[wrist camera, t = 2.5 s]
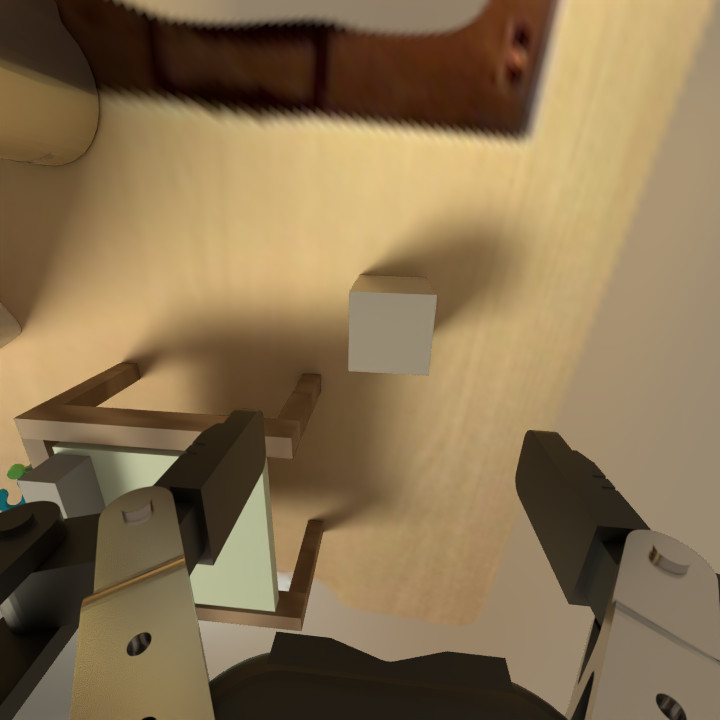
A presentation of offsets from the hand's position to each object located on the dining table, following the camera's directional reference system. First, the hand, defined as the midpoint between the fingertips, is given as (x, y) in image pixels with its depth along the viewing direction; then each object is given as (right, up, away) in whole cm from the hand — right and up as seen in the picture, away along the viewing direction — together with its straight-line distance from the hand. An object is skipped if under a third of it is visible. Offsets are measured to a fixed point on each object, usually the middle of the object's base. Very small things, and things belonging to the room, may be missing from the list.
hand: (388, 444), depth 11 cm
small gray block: (+1, +5, +13) cm, 15 cm away
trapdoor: (-14, -10, +15) cm, 23 cm away
